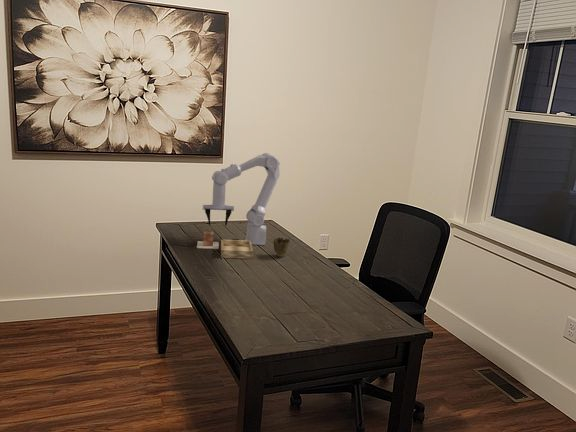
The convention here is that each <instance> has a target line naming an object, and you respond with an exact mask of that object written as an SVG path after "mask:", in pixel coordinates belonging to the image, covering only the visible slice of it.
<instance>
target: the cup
mask: <svg viewBox="0 0 576 432" xmlns="http://www.w3.org/2000/svg"><path fill="white" fill-rule="evenodd" d="M289 246H290V238H289V239H288V238H285V239H284V238H283V237H275V238H273V250H274V252H275V253H276V256H277V257H278V258H284V257H285V254H286V253H287V252H288V250H289V248H290V247H289Z"/></svg>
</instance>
